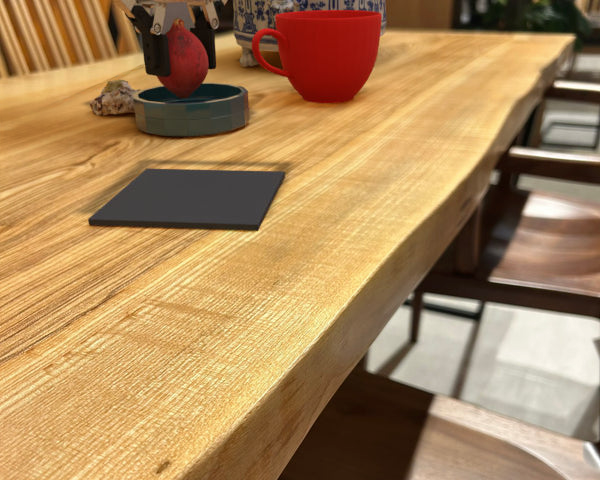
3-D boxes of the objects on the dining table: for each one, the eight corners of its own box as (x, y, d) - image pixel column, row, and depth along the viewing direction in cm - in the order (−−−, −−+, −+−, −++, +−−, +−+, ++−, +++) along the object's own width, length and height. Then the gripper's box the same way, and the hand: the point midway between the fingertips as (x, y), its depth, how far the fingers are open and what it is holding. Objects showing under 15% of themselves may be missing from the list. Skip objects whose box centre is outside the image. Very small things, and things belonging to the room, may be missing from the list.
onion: (211, 103, 67) (206, 20, 63) (155, 104, 66) (147, 21, 63) (209, 93, 72) (204, 16, 68) (157, 94, 71) (150, 16, 68)
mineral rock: (164, 93, 75) (93, 78, 72) (159, 131, 76) (88, 117, 73) (155, 82, 84) (91, 68, 81) (150, 116, 85) (87, 103, 82)
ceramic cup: (233, 100, 83) (227, 15, 78) (341, 86, 90) (342, 8, 85) (281, 118, 73) (278, 23, 68) (399, 100, 80) (403, 13, 75)
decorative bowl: (372, 79, 94) (376, -35, 87) (201, 76, 99) (192, -32, 92) (393, 44, 131) (397, -39, 124) (267, 43, 136) (264, -36, 129)
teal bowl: (120, 138, 66) (115, 103, 64) (158, 112, 77) (154, 82, 75) (235, 139, 65) (233, 104, 63) (257, 113, 75) (256, 82, 74)
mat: (88, 225, 44) (87, 218, 44) (147, 174, 55) (146, 168, 55) (258, 231, 43) (257, 224, 43) (285, 177, 53) (284, 171, 53)
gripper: (203, -121, 67) (213, 59, 76) (62, -139, 55) (92, 78, 64) (257, -126, 63) (261, 65, 72) (117, -146, 51) (142, 86, 60)
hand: (181, 69), depth 68 cm, fingers closed on onion, 5 cm apart
